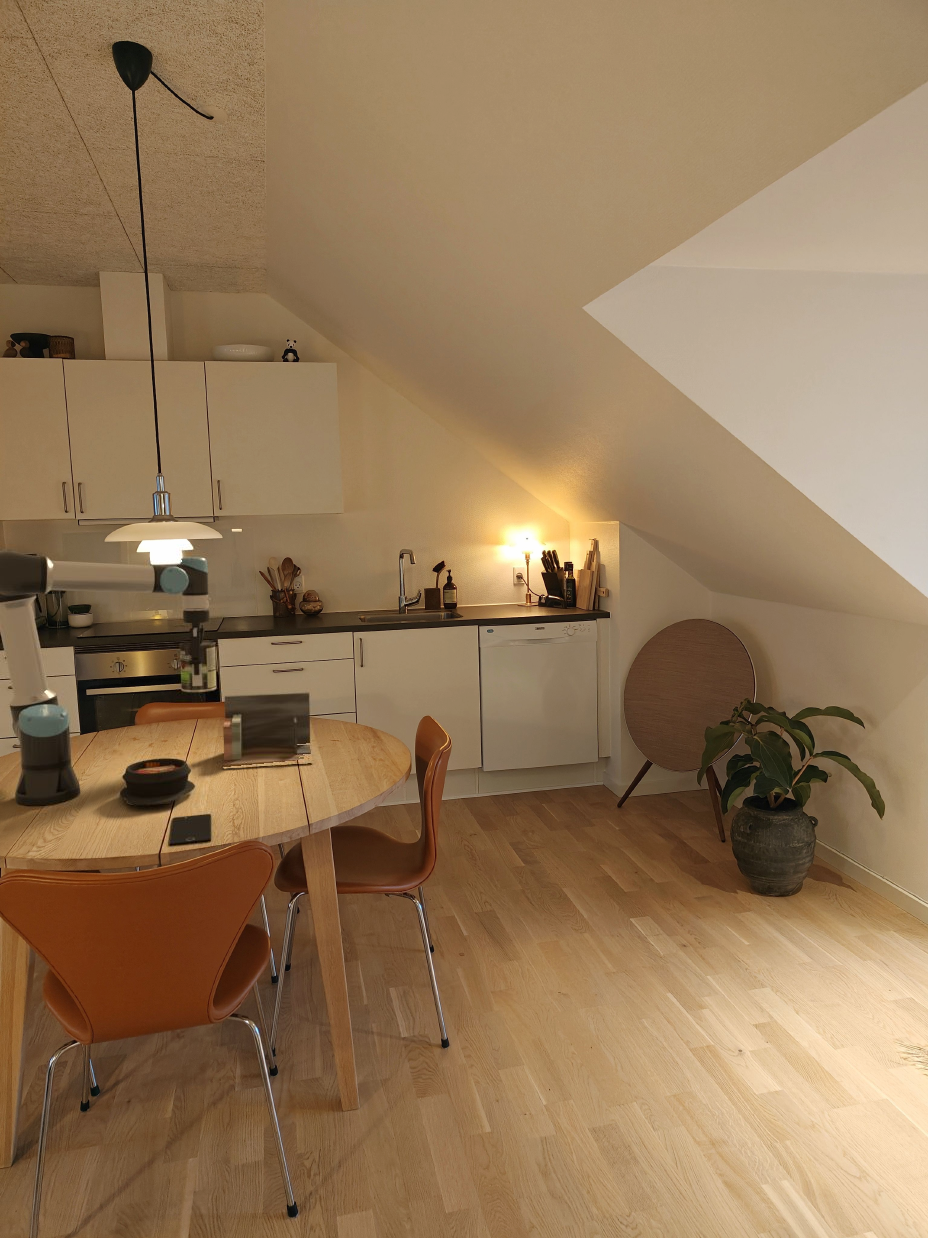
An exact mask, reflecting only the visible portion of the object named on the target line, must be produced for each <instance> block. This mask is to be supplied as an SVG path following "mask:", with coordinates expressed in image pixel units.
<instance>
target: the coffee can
mask: <svg viewBox="0 0 928 1238" xmlns="http://www.w3.org/2000/svg"><path fill="white" fill-rule="evenodd" d="M178 646H179V653H180V654H179V656H180V659H179V660H180V683H181V685H180V686H181V692H184V693H204V692H211V691H215V690H216V689H217V669H216V642H214V641H212V640H211V641H209V640H203V642H202V643H201V645H200V649H201V664H202V686H193V683H192V664H190V665H189V662H191V641H184V642H180V643H179V645H178Z"/></svg>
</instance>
